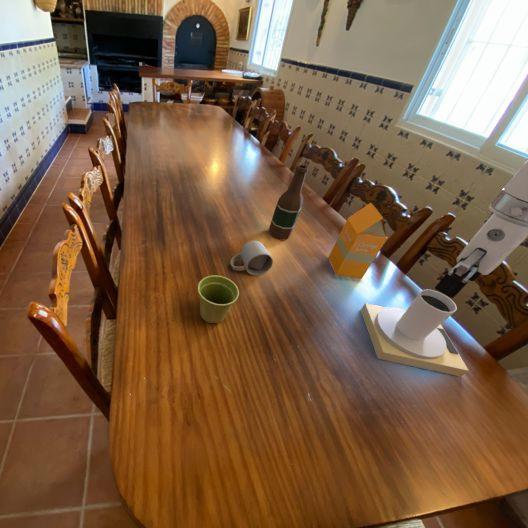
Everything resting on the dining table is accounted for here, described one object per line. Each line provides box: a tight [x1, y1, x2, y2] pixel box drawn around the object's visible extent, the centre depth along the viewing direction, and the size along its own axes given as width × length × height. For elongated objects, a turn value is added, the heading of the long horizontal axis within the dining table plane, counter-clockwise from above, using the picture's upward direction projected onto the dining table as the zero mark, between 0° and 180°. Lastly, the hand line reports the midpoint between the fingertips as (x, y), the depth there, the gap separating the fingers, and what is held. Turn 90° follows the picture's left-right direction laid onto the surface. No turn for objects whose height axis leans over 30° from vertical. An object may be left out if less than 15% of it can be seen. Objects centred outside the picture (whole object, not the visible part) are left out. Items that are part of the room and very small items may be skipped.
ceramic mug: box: [229, 240, 274, 276], centre depth 85 cm, size 11×8×8 cm
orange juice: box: [328, 202, 388, 280], centre depth 84 cm, size 8×9×20 cm
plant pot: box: [197, 274, 240, 324], centre depth 70 cm, size 9×9×9 cm
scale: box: [360, 302, 470, 378], centre depth 69 cm, size 17×15×4 cm
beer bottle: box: [268, 164, 309, 241], centre depth 95 cm, size 8×8×24 cm
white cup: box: [397, 288, 458, 341], centre depth 65 cm, size 7×7×10 cm
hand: (454, 284), depth 59 cm, fingers open, 9 cm apart
